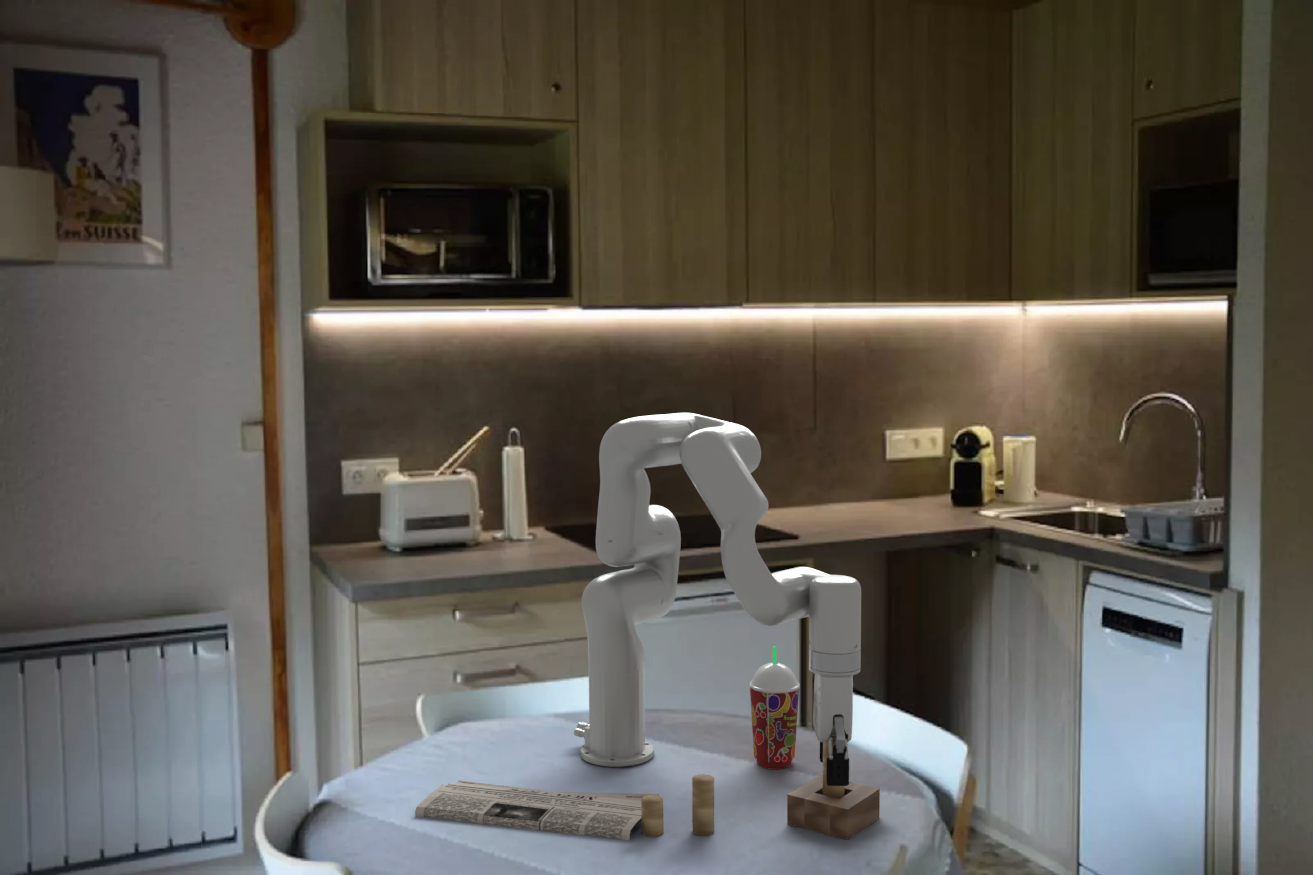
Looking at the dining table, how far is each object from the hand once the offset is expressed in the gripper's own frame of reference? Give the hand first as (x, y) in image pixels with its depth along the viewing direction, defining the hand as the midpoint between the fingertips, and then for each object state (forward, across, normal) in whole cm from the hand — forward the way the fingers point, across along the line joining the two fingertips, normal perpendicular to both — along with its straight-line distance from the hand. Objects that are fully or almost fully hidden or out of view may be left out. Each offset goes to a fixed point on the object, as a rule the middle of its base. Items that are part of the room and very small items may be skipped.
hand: (833, 773), depth 193 cm
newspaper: (+8, -3, -44) cm, 45 cm away
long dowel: (+7, 0, 0) cm, 7 cm away
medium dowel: (+7, +4, -19) cm, 21 cm away
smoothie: (+7, -25, -7) cm, 27 cm away
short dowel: (+7, +4, -27) cm, 28 cm away
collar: (+7, 0, 0) cm, 7 cm away
